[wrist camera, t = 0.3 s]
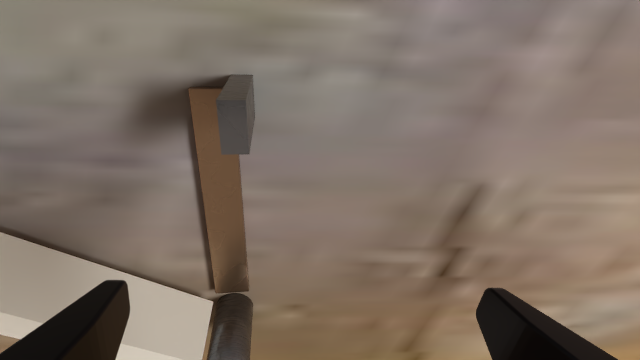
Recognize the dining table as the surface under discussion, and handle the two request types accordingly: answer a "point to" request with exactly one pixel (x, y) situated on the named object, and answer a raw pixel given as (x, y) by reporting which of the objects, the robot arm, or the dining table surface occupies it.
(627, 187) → the dining table surface
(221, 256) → the gate posts
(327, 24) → the dining table surface
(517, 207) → the dining table surface
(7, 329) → the gate
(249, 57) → the dining table surface
